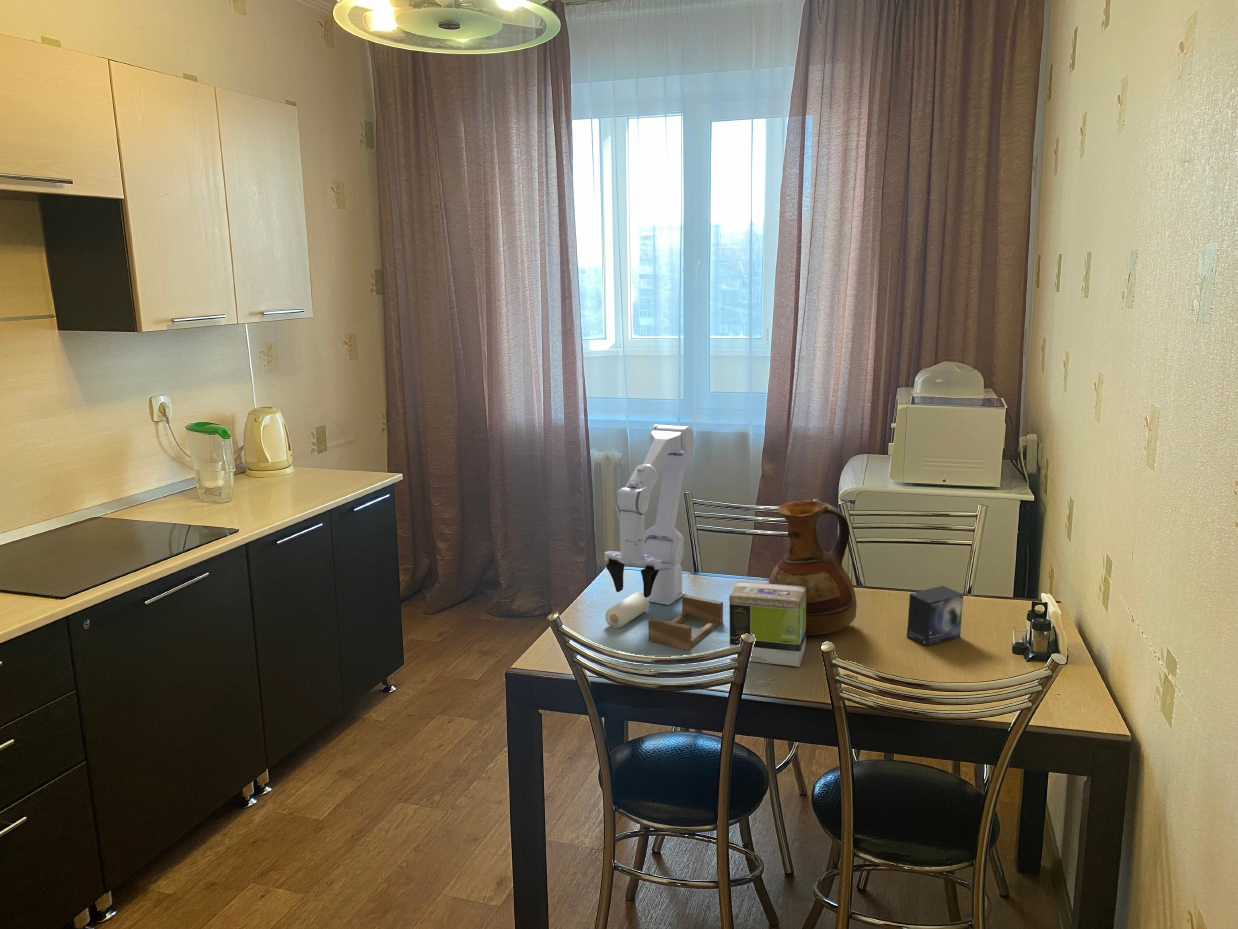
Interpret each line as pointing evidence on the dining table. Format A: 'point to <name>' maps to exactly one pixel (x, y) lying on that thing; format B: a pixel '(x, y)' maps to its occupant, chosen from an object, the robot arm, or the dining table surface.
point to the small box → (935, 615)
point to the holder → (682, 634)
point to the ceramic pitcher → (817, 567)
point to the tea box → (770, 621)
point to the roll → (627, 610)
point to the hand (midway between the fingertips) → (633, 593)
